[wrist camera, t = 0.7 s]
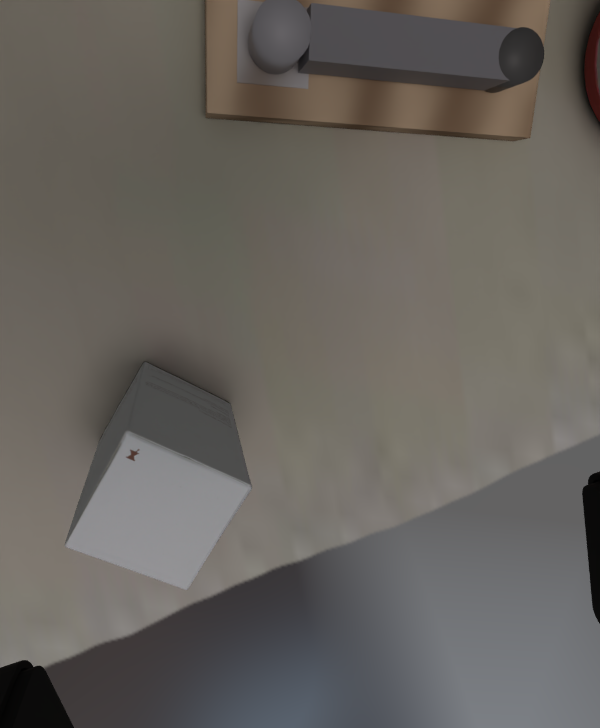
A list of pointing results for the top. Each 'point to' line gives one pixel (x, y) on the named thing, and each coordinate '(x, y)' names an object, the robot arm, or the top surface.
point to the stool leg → (392, 47)
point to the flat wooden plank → (363, 96)
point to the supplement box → (162, 480)
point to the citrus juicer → (593, 67)
